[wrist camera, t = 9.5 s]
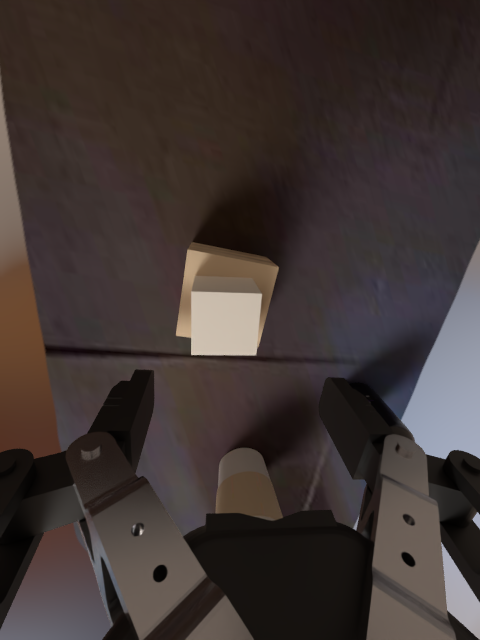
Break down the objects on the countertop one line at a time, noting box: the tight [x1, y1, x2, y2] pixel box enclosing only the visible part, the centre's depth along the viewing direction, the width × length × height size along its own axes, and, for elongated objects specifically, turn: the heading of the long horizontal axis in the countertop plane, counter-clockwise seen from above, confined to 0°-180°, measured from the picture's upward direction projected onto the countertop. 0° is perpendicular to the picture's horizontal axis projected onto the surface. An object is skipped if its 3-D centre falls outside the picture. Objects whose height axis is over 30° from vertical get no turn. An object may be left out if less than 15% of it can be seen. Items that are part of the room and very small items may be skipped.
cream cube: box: [191, 276, 262, 355], centre depth 22 cm, size 5×5×5 cm
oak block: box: [176, 242, 279, 347], centre depth 27 cm, size 8×8×6 cm
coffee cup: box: [216, 448, 283, 521], centre depth 33 cm, size 9×9×15 cm
